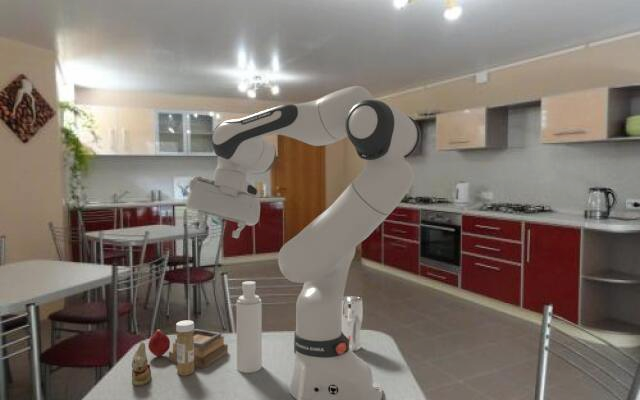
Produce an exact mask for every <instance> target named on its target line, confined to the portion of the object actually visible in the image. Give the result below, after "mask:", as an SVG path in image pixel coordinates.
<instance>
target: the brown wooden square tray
mask: <svg viewBox="0 0 640 400" xmlns="http://www.w3.org/2000/svg"><path fill="white" fill-rule="evenodd" d="M193 337H194V367H198V368H202V369H204V368H207V367H208V366H210V365H211V364H213V363H214V362H216V361H218V360H219V359H221V358H222V357H224V356H225V355H227V354H228V352H229V351H228V347H229V346H228V344H227V343H225V341H224V340H225V339H224V338H225V336H224V335H222V333H221V332H217V331H209V330H205V329H198V328H194V331H193ZM174 340H175V342H173V343H172V350H170V351H168V360H169V361H170V362H173V363H177V338H175V339H174Z"/></svg>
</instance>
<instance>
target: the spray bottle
mask: <svg viewBox="0 0 640 400" xmlns="http://www.w3.org/2000/svg"><path fill="white" fill-rule="evenodd" d="M241 286H242V289H241V290H242V291H243V294H242V295H240V296H239V297H238V298H237V299H236V369H237V371H238V372H239V373H245V374H250V373H256V372H258V371H260V370H261V369H262V365H263V359H262V358H263V356H262V355H263V352H262V351H263V350H262V349H263V347H262V346H263V344H262V343H263V342H262V340H263V339H262V338H263V335H262V333H263V328H262V324H263V323H262V322H263V321H262V319H263V318H262V317H263V316H262V313H263V312H262V309H263V307H262V304H263V303H262V298H261V297H260V296H259V295H257V294H255V293H256V292H255V291H256V290H257V285H256V281H252V280H249V281H248V280H247V281H246V280H245V281H243V282H242V285H241Z"/></svg>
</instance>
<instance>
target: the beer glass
mask: <svg viewBox="0 0 640 400" xmlns="http://www.w3.org/2000/svg"><path fill="white" fill-rule="evenodd" d="M363 310H364V309H363V299H362V298H361V297H360V296H355V295H347V296H343V301H342V332H343V334H344V335H345V336H346V337H347V338H348V337H349V336H351V338H350V339H351V341H350V342H349V349H350V350H351V351H352V352H353V353H354V352H357V351H360V350H361V349H360V348H362V346H361V338H360V336H361V329H362V323H363V313H364V312H363Z"/></svg>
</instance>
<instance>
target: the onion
mask: <svg viewBox="0 0 640 400" xmlns="http://www.w3.org/2000/svg"><path fill="white" fill-rule="evenodd" d="M170 346H171V341H170V338H169V336H167V334H166V333H164V332H162V331H161V330H160V329H156V332H155V333H154V334H153V335H152V336H151V337H150V339H149V342H148V346H147V348H148V350H149V352H150V353H151V354H152V355H154V356H155V357H156V358H161V357H162V356H164V355H165V354H166V353H167V352H169V349H170V348H171V347H170Z"/></svg>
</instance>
